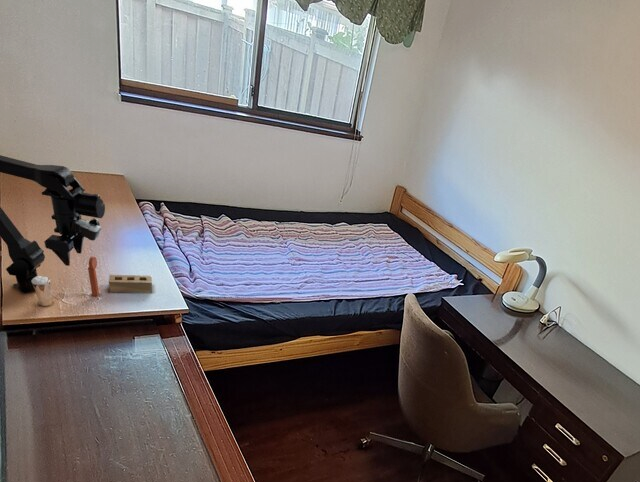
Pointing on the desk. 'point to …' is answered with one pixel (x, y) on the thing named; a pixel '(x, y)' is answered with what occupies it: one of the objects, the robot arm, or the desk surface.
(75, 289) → the desk surface
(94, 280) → the orange piece
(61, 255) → the robot arm
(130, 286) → the utensil rack
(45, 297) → the milkshake
